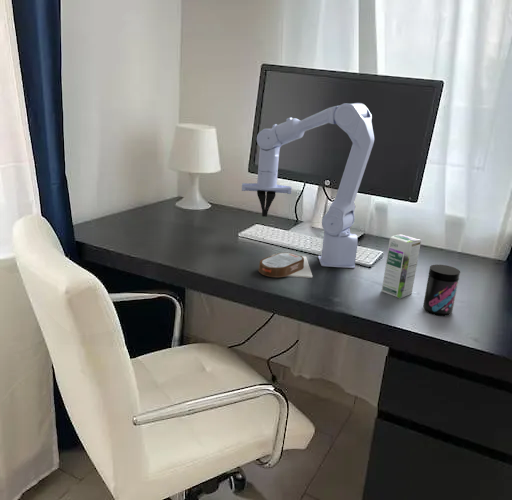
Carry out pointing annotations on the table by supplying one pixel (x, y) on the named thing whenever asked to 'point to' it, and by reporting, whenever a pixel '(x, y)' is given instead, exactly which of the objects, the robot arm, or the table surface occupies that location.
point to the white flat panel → (303, 270)
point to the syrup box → (401, 265)
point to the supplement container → (441, 290)
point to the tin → (281, 265)
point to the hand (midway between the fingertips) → (264, 215)
